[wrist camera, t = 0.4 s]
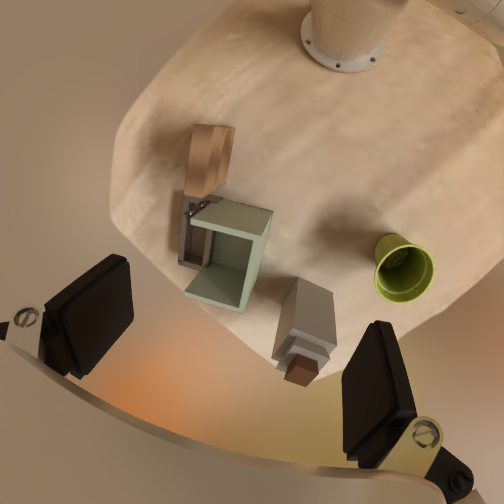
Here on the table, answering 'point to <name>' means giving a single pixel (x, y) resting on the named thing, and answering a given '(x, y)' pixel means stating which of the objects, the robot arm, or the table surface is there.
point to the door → (208, 159)
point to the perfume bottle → (305, 332)
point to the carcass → (231, 254)
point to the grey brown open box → (188, 211)
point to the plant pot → (402, 269)
